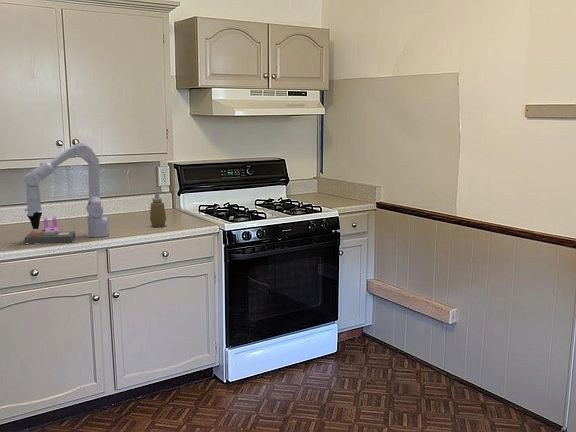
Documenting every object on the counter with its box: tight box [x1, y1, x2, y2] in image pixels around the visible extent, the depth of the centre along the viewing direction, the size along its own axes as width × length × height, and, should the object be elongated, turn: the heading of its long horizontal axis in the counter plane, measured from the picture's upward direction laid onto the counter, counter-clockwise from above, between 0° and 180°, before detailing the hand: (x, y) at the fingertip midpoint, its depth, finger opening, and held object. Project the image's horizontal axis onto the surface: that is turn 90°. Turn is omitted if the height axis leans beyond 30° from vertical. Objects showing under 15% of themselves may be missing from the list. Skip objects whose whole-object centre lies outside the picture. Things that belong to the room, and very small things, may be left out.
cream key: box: [58, 231, 71, 235], centre depth 273 cm, size 4×4×3 cm
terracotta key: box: [29, 230, 43, 236], centre depth 270 cm, size 4×4×3 cm
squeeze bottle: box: [149, 190, 167, 228], centre depth 302 cm, size 8×8×18 cm
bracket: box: [43, 215, 60, 232], centre depth 290 cm, size 13×6×7 cm, turn 27°
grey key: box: [44, 230, 56, 236], centre depth 271 cm, size 4×4×3 cm
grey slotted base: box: [23, 230, 77, 244], centre depth 272 cm, size 20×10×3 cm, turn 99°
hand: (35, 228), depth 270 cm, fingers closed
